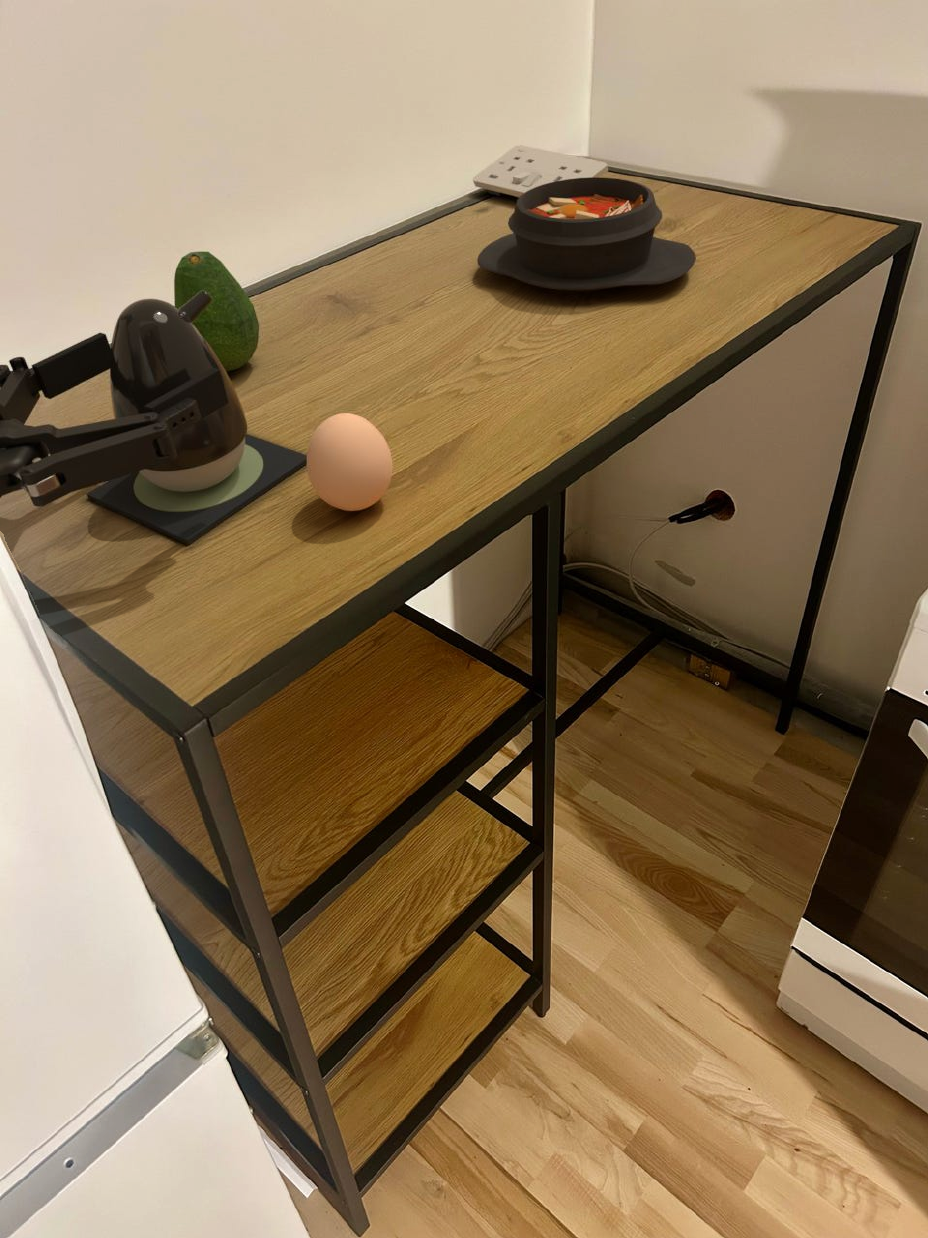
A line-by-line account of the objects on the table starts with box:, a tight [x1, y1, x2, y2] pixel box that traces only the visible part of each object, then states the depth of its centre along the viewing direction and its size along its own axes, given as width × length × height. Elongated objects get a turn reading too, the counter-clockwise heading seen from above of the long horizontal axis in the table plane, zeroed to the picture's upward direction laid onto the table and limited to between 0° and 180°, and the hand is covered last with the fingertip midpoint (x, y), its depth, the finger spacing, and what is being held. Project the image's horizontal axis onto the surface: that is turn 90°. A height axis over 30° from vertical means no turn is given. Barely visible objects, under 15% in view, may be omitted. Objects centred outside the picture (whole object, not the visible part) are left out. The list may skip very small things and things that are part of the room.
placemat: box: [86, 433, 307, 546], centre depth 79 cm, size 13×14×1 cm
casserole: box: [476, 177, 697, 292], centre depth 104 cm, size 25×19×8 cm
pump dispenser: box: [109, 290, 248, 492], centre depth 74 cm, size 10×10×15 cm
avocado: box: [173, 251, 260, 373], centre depth 91 cm, size 8×8×12 cm
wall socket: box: [472, 144, 609, 199], centre depth 127 cm, size 18×15×4 cm
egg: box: [306, 412, 394, 512], centre depth 72 cm, size 7×7×8 cm
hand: (162, 365), depth 72 cm, fingers open, 13 cm apart
